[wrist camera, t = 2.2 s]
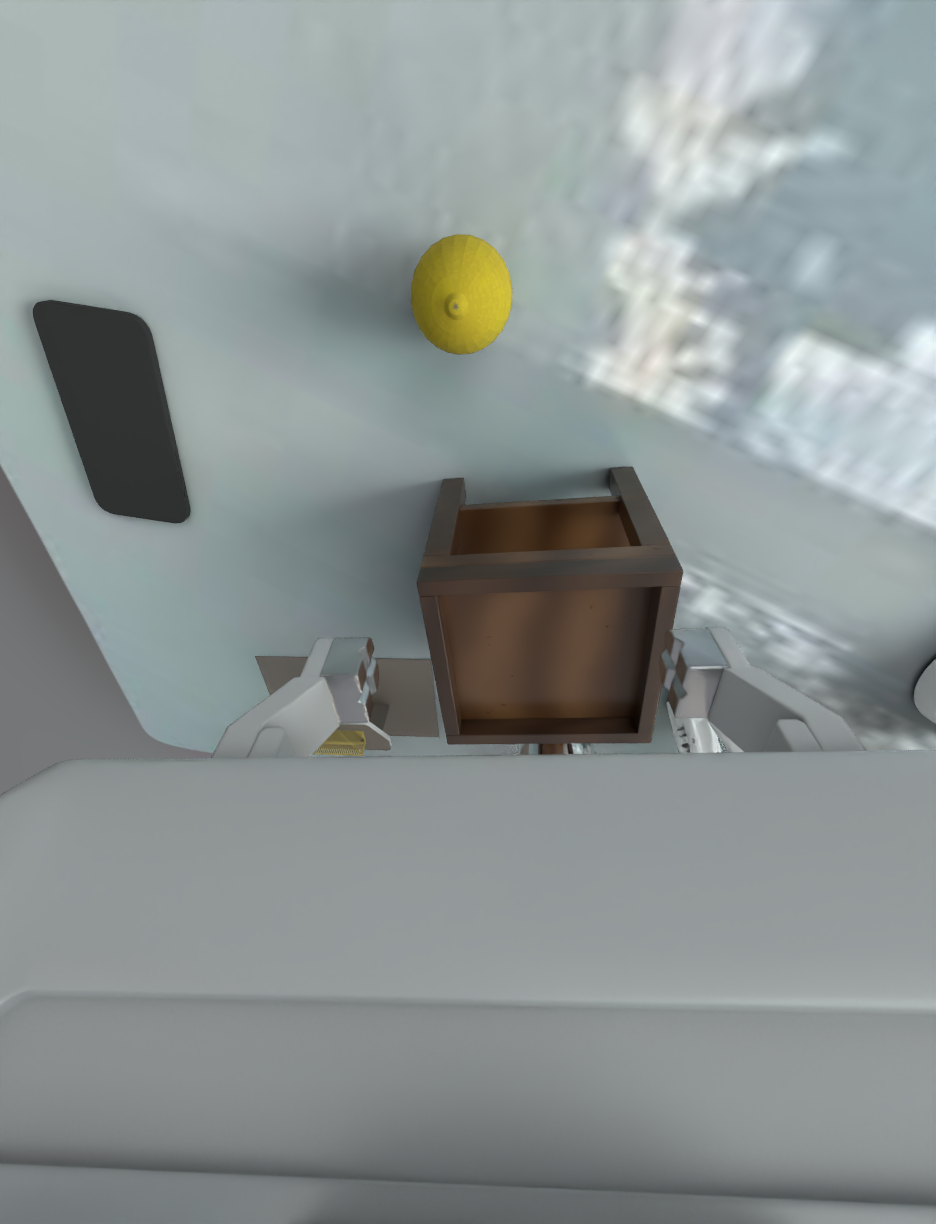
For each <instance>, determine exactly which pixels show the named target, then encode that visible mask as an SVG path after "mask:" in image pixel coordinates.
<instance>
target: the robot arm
mask: <svg viewBox="0 0 936 1224" xmlns="http://www.w3.org/2000/svg"><path fill="white" fill-rule="evenodd" d="M664 643H665V646H666V649H665V650H664V651H663V652H662V653H661V655H660V661H659V674H660V679H661V682H662V685H663V687H664V688H666V689H667V690H668V691H670V692H669V696H668V701H669V703H670V706H671V709H672V711H673V714H674V716H675V718H708V720H709V721H710V722H711V723H712V724H713V725H714V726H716V727H717V728H718V729H719V730H720V731H721V732H722V733H723V734H724V735H726V736H727V737H728V738H729V739H730V740H731V741H732V742H733V743H735V744H736V745H737V746H738V747H739V748H740V749H741V750H742V751H744V752H719V753H639V754H543V755H463V756H373V757H311V756H312V755H313V753H314V752H315V751H316V750H317V749H318V748H319V747H320V746H321V745H322V744H323V743H324V742H325V741H326V740H327V738H328V737H329V736H330V735H331V734H332V733H333V732H334V731H335V730H336V729H337V728H338V727H339V726H340V724H344V723H368V722H370V718H371V714H372V710H373V706H374V702H373V698H372V696H373V695H375V694H376V693H377V690H378V685H379V667H378V662H377V660H376V659H375V658H374V657H373V656H372V655H373V651H374V646H373V642H372V639H371V638H318V639H317V640H316V641H315V643H314V645H313V647H312V650H311V652H310V654H309V657H308V659H307V661H306V664H305V666H304V668H303V671H302V673H301V675H300V677H295V678H293V679H292V680H290V681H289V682H288V683H286V684H285V685H284V686H282V687H281V688H280V689H278V690H277V691H275V692H274V693H273V694H271V695H270V696H269V697H267V698H266V699H264V700H263V701H262V702H260V703H259V704H258V705H256V706H255V707H254V708H252V709H251V710H249V711H248V712H247V713H245V714H244V715H243V716H241V717H240V718H238V719H237V720H236V721H234V722H233V723H232V724H230V725H229V726H228V727H227V728H226V730H225V732H224V734H223V736H222V738H221V740H220V742H219V743H218V745H217V747H216V749H215V751H214V753H213V755H212V757H211V758H189V759H75V760H67V761H62V762H59V763H56V764H54V765H52V766H50V767H48V768H46V769H44V770H42V771H40V772H39V773H37V774H35V775H33V776H31V777H29V778H28V779H26V780H24V781H22V782H21V783H19V784H18V785H16V786H14V787H12V788H10V789H9V790H7V791H5V792H4V793H2V794H0V1224H936V750H897V751H866V749H865V748H864V747H863V745H862V744H861V742H860V741H859V740H858V738H857V737H856V736H855V734H854V733H853V731H852V730H851V729H850V727H849V726H848V724H847V723H846V722H845V720H844V719H843V717H841V716H839V715H837V714H836V713H834V712H832V711H831V710H829V709H827V708H826V707H824V706H822V705H820V704H819V703H817V702H815V701H814V700H812V699H810V698H809V697H807V696H805V695H804V694H802V693H800V692H798V691H797V690H795V689H793V688H792V687H790V686H788V685H787V684H785V683H783V682H781V681H780V680H778V679H776V678H775V677H773V676H771V675H770V674H768V673H766V672H764V671H763V670H761V669H759V668H758V667H751V666H750V664H749V662H748V661H747V659H746V657H745V656H744V654H743V652H742V651H741V649H740V647H739V646H738V644H737V643H736V641H735V639H734V638H733V636H732V634H731V633H730V631H729V629H727V628H726V627H713V628H700V629H669V630H667V632H666V633H665V637H664ZM914 701H915V705H916V707H917V709H918V710H919V711H920V713H921V714H923V715H924V716H925V717H926V718H928V719H929V720H931V721H932V722H933V723H935V724H936V659H935V660H934V661H933V662H932V663H931V664H930V665H929V666H928V667H927V668H926V670H925V671H924V672H923V674H922V675H921V677H920V678H919V680H918V682H917V684H916V687H915V691H914Z"/></svg>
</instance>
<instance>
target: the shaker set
mask: <svg viewBox="0 0 936 1224" xmlns="http://www.w3.org/2000/svg"><path fill="white" fill-rule="evenodd" d="M666 705H667V708H668V709H667V710H668V712H669V715H668V717H670V721H671V725H672V729H673V733H674V737H675V740H676V744H677V748H678V751H679V753H719V752H721V748H720V744H719V741H718V737H719V739H720V740H721V741H722V743H723V744H724V746H725V747H726V748H727V750H728V751H729V752H744V751H742V750H741V749H740V748H739V747H738V746H737V745H736V744H735V743H733V742H732V741H731V740H730V739H729V738H728V737H727V736H726V735H724V734H723V733H722V732H721V731H720V730H719V729H718V728H717V727H716V726H714V725H713V724H712V723H711V722H710V721H709V720H708V718H675V716H674V714H673V711H672V709H671V706H670V703H669V702H667V703H666ZM717 736H718V737H717Z"/></svg>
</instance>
